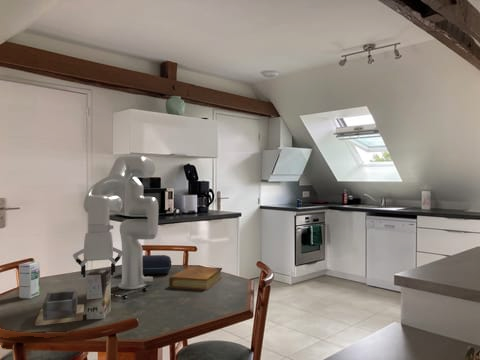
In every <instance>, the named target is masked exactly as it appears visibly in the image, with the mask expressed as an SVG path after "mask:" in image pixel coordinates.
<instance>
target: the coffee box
mask: <svg viewBox="0 0 480 360" xmlns="http://www.w3.org/2000/svg"><path fill="white" fill-rule="evenodd" d="M111 277H112V275H111V268H101V269H99V268H98V269H97V268H96V269H93V270H92V271H90V272H89V273H87V274H86V320H102V319H105V318H106V317H107V315H108V314H109V313H110V312H111V304H112V303H111V298H112V297H111V296H112V295H111V294H112V293H111V291H112V290H111V286H112V285H111V282H112V281H111V280H112V278H111Z"/></svg>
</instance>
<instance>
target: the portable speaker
mask: <svg viewBox="0 0 480 360" xmlns="http://www.w3.org/2000/svg"><path fill="white" fill-rule="evenodd" d="M171 268H172V259H171V257H170V256H169V255H166V254H155V255H153V254H152V255H151V254H150V255H148V254H147V255H144V254H143V275H165V274H168V273H170V271H171Z"/></svg>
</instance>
